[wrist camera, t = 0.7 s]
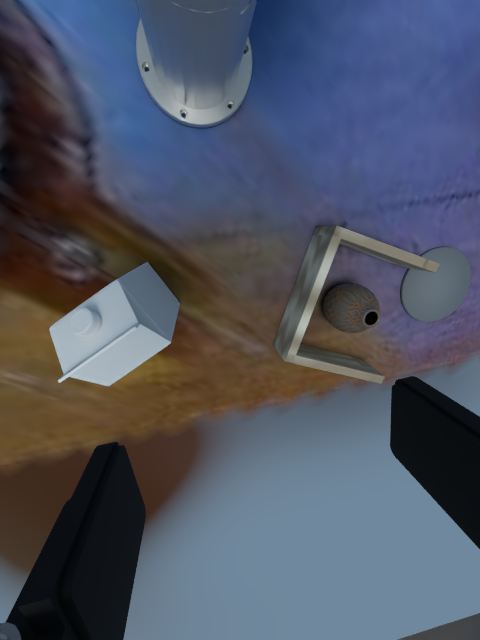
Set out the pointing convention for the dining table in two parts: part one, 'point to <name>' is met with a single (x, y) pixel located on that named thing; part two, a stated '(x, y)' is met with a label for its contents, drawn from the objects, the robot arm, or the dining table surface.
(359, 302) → the vase
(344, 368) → the holder
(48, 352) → the dining table surface
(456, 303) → the mat
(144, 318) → the milk carton
